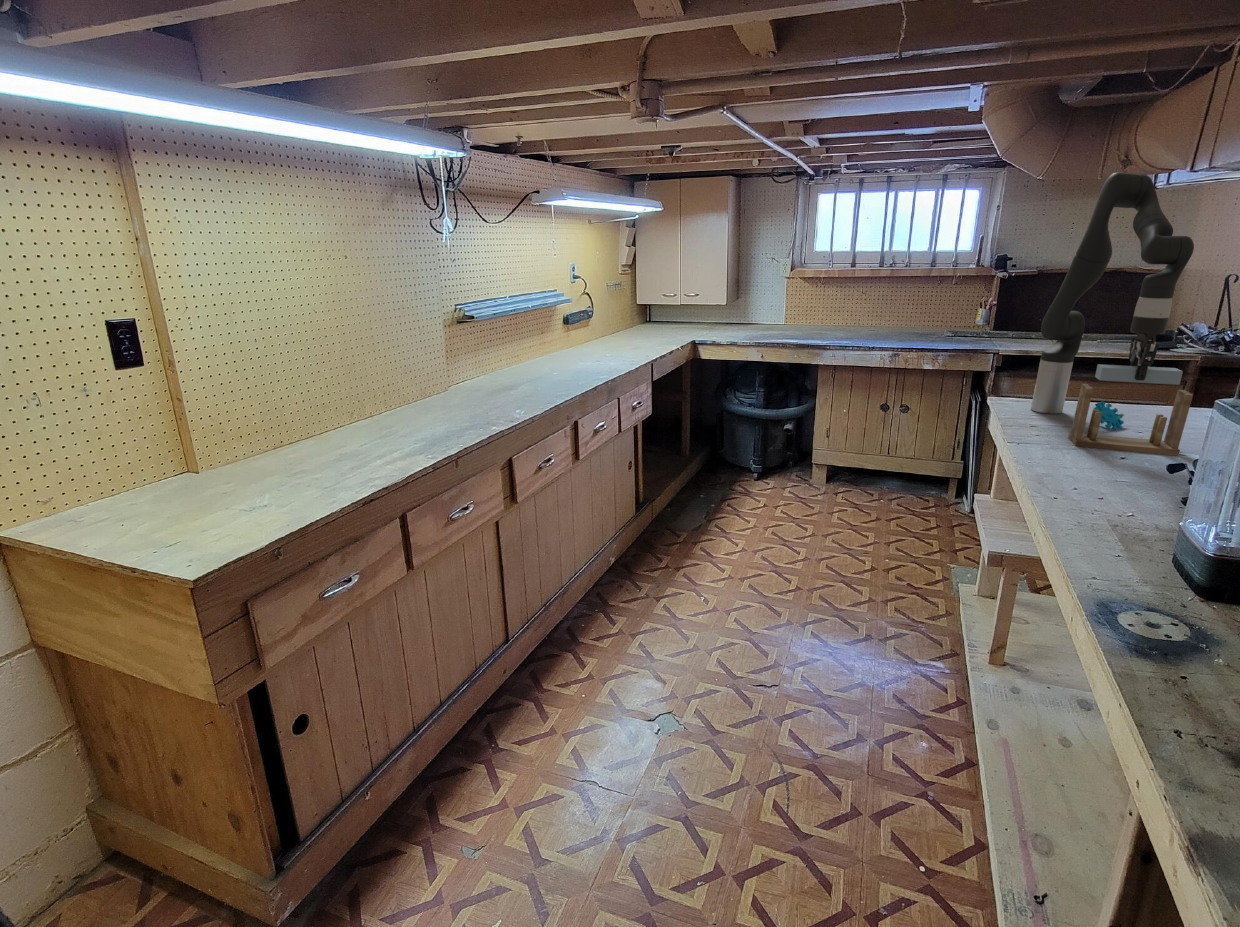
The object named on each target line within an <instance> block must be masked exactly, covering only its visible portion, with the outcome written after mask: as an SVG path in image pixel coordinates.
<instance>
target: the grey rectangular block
mask: <svg viewBox="0 0 1240 927" xmlns="http://www.w3.org/2000/svg"><path fill="white" fill-rule="evenodd" d="M1136 370H1137V366H1130V365H1121V364H1120V365H1118V364H1117V365H1116V364H1100V363H1099V364H1097V366H1096V370H1095V375H1094V378H1096V379H1097V380H1099V381H1101V382H1103V381H1107V382H1121V383H1123V382H1124V383H1140V384H1141V383H1143V384H1159V385H1160V384H1161V385H1177V386H1180V385H1181V380H1182V377H1183V372H1184V371H1183V370H1180V369H1178V368H1176V367H1164V366H1163V367H1159V366H1158V367H1157V366H1149V367H1148V369H1147V373H1146V377H1145V380H1136V379H1135V374H1136Z"/></svg>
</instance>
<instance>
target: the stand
mask: <svg viewBox="0 0 1240 927" xmlns="http://www.w3.org/2000/svg"><path fill="white" fill-rule="evenodd" d="M1093 392H1094V387H1092V386H1090V384H1087V383H1081V386H1080V390H1079V394H1078V400H1077V404H1076V408H1075V413H1074V418H1073V422H1072V426H1071V431H1070V432H1069V433H1068V439H1069V440H1070V442H1071V443H1072V444H1073V445H1074V446H1075V447H1080V448H1092V449H1101V450H1102V449H1104V450H1113V451H1126V452H1135V453H1148V454H1158V455H1170V456H1179V455H1180V452H1181V450H1180V449H1179V446H1180V442H1181V439H1182V436H1183V432H1184V428H1185V425H1186V422H1187V418H1188V414H1189V412H1190V407H1191V405H1192V404H1191V403H1192V400H1193V397H1194V394H1192V393H1191V392H1189V391H1187V390H1185V389H1177V392H1176V395H1175V400H1174V403H1173V407H1172V410H1171V414H1170V417H1169V421H1168V417H1165V416H1164V415H1163V414H1159V413H1157V414H1155V417H1154V422H1153V425H1152V429H1151V433H1150V437H1149V439H1148V438H1147V439H1146V438H1139V437H1138V438H1135V437H1123V436H1114V435H1113V436H1112V435H1110V436H1109V435H1101V434H1100V435H1099V434H1098V433H1099V430H1100V426H1101V423H1100V421H1101V417H1102V413H1101V412H1099V410H1093V409H1092V411H1091V416H1090V420H1089V423H1088V424H1089V425H1088V427H1087V428H1088V430H1087V431H1086V432H1087V433H1084V431H1085V428H1086V422H1087V417H1088V414H1089V408H1090V404H1091V401H1092V395H1093ZM1167 421H1168V425H1167ZM1166 425H1167V428H1166ZM1165 429H1166V431H1165ZM1164 432H1166V433H1165V435H1164ZM1163 436H1164V439H1162V438H1163Z"/></svg>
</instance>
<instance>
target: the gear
mask: <svg viewBox="0 0 1240 927" xmlns="http://www.w3.org/2000/svg"><path fill="white" fill-rule="evenodd" d="M1094 405H1095V407H1094V408H1093V409H1092V411H1093V410H1099V412H1101V413H1102V417H1101V421H1100V425H1101V424H1104V423H1106V424H1105V425H1104V426H1105V428H1106V429H1110V428H1111V430H1112V431H1117V430H1120V429H1122V428H1123V426H1122V425H1123V424H1124V423H1125V422H1124V420H1122V418H1123V417H1124V416H1125V414H1124V413H1120V414H1119V413H1118V408H1116V407H1114V408H1113V409H1112V406H1113V405H1112V404H1111V402H1108V403H1106V402H1105V401H1103V400H1102V401H1100V402H1097V403H1095V404H1094Z"/></svg>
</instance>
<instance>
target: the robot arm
mask: <svg viewBox="0 0 1240 927" xmlns="http://www.w3.org/2000/svg"><path fill="white" fill-rule="evenodd" d="M1159 202H1160V201H1159V197H1158V194H1157V191H1156V187H1155V185H1154V182H1153V180H1152V178H1151V177H1150V176H1149V175H1147V174H1144V173H1133V172H1131V173H1130V172H1121V171H1120V172H1114V173H1111V174H1110V175H1108V178H1107V179H1106V180H1105V182H1104V183H1103V185H1102V187H1101V190H1100V192H1099V195H1098V198H1097V201H1096V203H1095V207H1094V210H1093V212H1092V215H1091V218H1090V220H1089V223H1088V225H1087V228H1086V231H1085V232H1084V235H1083V238H1082V240H1081V242H1080V244H1079V246H1078V248H1077V250H1076V252H1075V254H1074V256H1073V259H1072V261H1071V262H1070V265H1069V268H1068V270H1067V273H1066V275H1065V277H1064V280H1062V284H1061V286H1060V288H1059V289H1058V292H1057V294H1056V295H1055V298H1054V299H1053V301H1052V303H1051V304H1050V306H1049V307H1048V310H1047V311H1046V313H1045V315H1044V316H1043V319H1042V321H1041V326H1040V333H1041V336H1042V337H1043V338H1044V339H1046V340H1047V341H1056V342H1055V343H1054V344H1053V345H1052V346H1050V347H1048V348H1046V349H1044V350H1042V352H1041V356H1040V361H1039V364H1038V365H1039V366H1038V371H1037V376H1036V381H1035V385H1034V390H1033V396H1032V402H1031V406H1030V410H1031V411H1034V412H1037V413H1042V414H1051V415H1052V414H1053V415H1055V414H1056V415H1057V414H1062V413H1063V410H1064V406H1065V402H1066V397H1067V392H1068V389H1069V388H1068V387H1069V382H1070V379H1071V375H1072V374H1071V373H1072V369H1073V364H1074V361H1075V360H1074V359H1075V357H1076V356H1077V355H1078V352H1079V350H1080V347H1081V343H1082V339H1083V336H1084V332H1085V327H1086V326H1085V325H1086V322H1085V320H1086V319H1085V317H1084V315H1083V313H1081V312H1080V311H1078V310H1073V308H1074V306H1075V305H1076V303H1077V302H1078V301H1079V299H1080V298H1081V297H1082V296H1083V295H1084V294H1085V293H1087V292H1088V291H1089V290H1090V289H1091V288H1092V287H1093V286H1094V285H1095V284H1096V283H1097V282H1098V281H1099V280H1100V279H1101V277H1102V276H1103V275H1104V273H1105V272H1106V269H1107V267H1108V264H1109V263H1110V260H1111V258H1112V255H1113V247H1112V240H1111V237H1110V232H1109V223H1110V222H1109V221H1110V218H1111V215H1112V213H1113V209H1114V208H1120V209H1122V208H1123V209H1134V210H1136V211H1137V213H1136V214H1135V215H1134V218H1133V221H1132V229H1133V231H1134V233H1135V235H1136V236H1137V238H1138V240H1139V241H1140V242H1139V243H1140V258H1141V260H1142V261H1143V262H1144V263H1146V264H1148V265H1166V266H1165V268H1163V269H1162V271H1161V272H1157V273H1152V274H1147V275H1146V276H1144V278H1143V280H1142V283H1141V288H1140V292H1139V295H1138V296H1139V297H1138V300H1137V302H1136V305H1135V309H1134V312H1133V317H1132V321H1131V325H1130V329H1129V330H1130V332H1131V333H1133V334H1137V335H1136V337H1135V336H1133V337H1132V338H1131V340H1130V346H1129V347H1130V348H1129V355H1128V359H1129V361H1130V365H1129V366H1137V370H1136V374H1135V379H1136V380H1145V377H1146V373H1147V369H1148V367H1151V366H1153V364H1154V361H1155V359H1156V356H1157V354H1158V349H1159V348H1160V344H1159V343H1157V341H1156V335H1164V334H1165V333H1166V330H1167V326H1168V322H1169V318H1170V315H1171V310H1172V307H1173V306H1172V303H1173V298H1174V293H1175V289H1176V286H1177V283H1178V281H1179V278H1180V277H1181V275H1182V272H1183V271H1184V270H1185V268H1186V266H1187V264H1188V263H1189V261H1190V260H1191V258H1192V255H1193V253H1194V249H1195V244H1194V241H1193V239H1192V238H1191V236H1186V235H1173V234H1174V228H1173V226H1172V223H1170V220H1168V218H1167V216H1166V215H1165V214H1164V212H1163V210H1162V208H1161V204H1160V203H1159Z"/></svg>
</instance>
